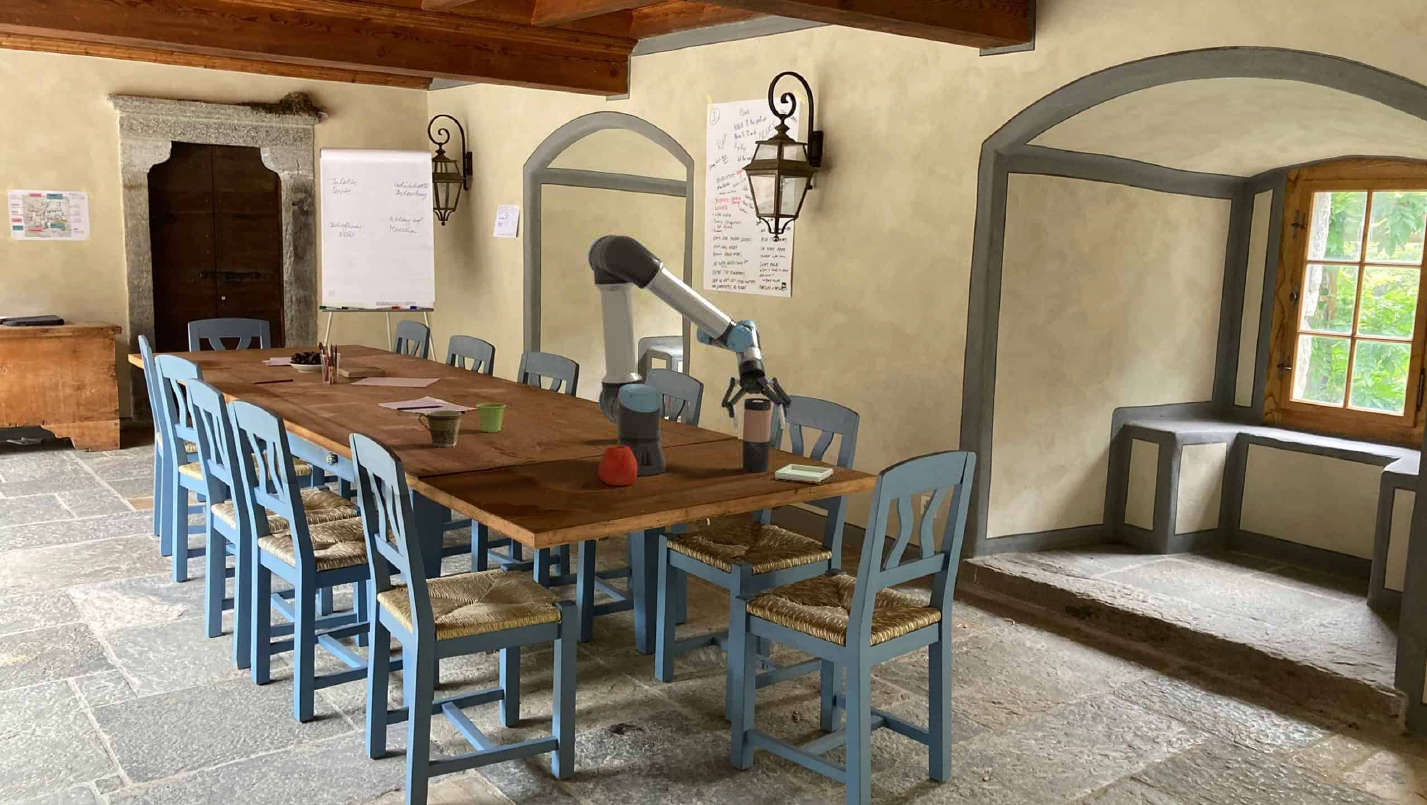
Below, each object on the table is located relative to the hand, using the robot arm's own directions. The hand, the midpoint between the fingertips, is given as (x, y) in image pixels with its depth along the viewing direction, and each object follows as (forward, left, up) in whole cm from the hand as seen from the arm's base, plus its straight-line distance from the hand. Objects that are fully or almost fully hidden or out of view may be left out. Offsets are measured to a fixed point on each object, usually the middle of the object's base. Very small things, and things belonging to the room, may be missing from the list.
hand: (759, 426), depth 313 cm
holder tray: (-4, -15, -12) cm, 20 cm away
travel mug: (-1, 0, -13) cm, 13 cm away
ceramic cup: (-19, +96, -13) cm, 99 cm away
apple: (-36, +25, -13) cm, 46 cm away
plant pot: (+9, +97, -13) cm, 99 cm away
